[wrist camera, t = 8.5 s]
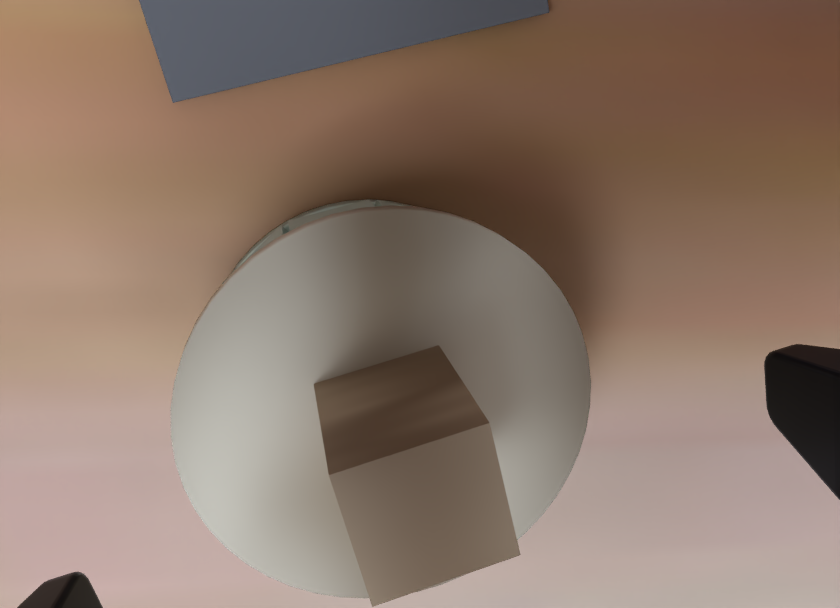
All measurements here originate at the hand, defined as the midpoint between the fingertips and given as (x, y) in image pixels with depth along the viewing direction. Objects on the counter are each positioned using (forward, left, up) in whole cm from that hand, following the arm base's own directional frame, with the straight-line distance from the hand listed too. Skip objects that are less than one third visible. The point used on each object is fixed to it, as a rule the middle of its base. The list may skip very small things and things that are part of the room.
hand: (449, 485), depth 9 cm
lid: (0, +3, -8) cm, 9 cm away
